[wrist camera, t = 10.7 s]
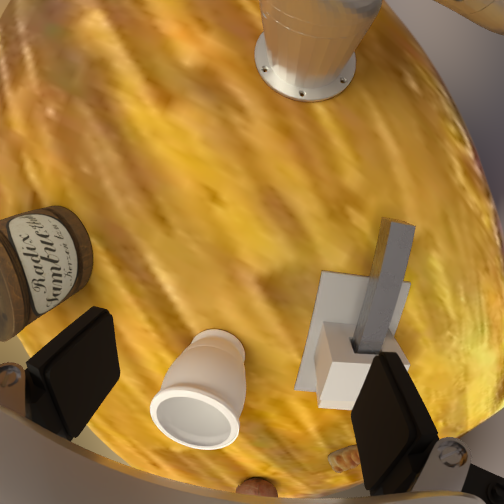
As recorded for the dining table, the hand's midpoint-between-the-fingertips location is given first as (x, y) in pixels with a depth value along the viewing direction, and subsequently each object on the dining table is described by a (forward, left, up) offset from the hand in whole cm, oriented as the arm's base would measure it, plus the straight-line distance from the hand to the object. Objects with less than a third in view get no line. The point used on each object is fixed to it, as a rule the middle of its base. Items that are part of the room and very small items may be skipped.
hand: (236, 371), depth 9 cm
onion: (+58, +6, -29) cm, 65 cm away
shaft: (+6, +14, -24) cm, 28 cm away
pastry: (+43, +23, -29) cm, 57 cm away
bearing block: (+15, +14, -28) cm, 35 cm away
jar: (+20, -5, -28) cm, 35 cm away
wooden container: (+8, -33, -29) cm, 44 cm away
